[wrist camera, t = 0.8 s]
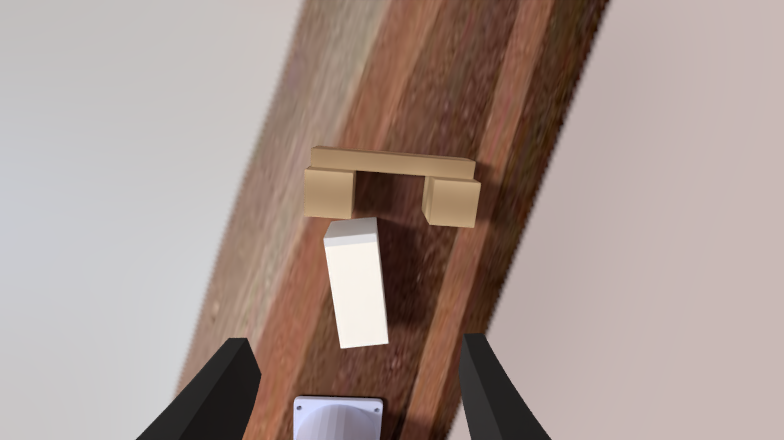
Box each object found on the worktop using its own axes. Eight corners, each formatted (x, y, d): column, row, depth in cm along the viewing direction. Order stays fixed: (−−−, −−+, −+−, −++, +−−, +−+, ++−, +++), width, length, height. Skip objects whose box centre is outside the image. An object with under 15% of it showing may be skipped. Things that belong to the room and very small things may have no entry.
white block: (386, 313, 28) (388, 343, 24) (345, 317, 28) (340, 348, 24) (376, 216, 26) (376, 233, 22) (331, 221, 26) (323, 238, 22)
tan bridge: (459, 212, 26) (473, 227, 22) (314, 201, 25) (304, 215, 21) (467, 158, 25) (484, 164, 21) (316, 145, 24) (305, 149, 20)
